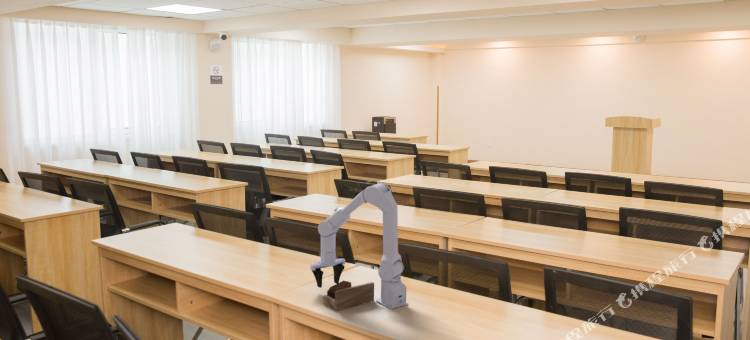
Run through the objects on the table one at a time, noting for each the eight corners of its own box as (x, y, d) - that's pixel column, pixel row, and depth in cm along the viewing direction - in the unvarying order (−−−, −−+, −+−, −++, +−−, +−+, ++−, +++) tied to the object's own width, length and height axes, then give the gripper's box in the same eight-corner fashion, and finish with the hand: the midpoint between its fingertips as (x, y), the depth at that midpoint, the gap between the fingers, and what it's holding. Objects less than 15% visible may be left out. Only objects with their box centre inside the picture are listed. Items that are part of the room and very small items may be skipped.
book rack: (373, 301, 217) (374, 283, 216) (336, 310, 207) (336, 291, 206) (360, 294, 224) (360, 276, 223) (323, 303, 214) (323, 284, 213)
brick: (343, 291, 227) (343, 280, 226) (351, 293, 225) (351, 281, 224) (326, 300, 218) (326, 287, 217) (335, 302, 216) (335, 290, 215)
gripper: (338, 245, 232) (338, 278, 234) (306, 251, 224) (306, 285, 226) (348, 249, 227) (348, 283, 229) (315, 255, 218) (315, 290, 220)
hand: (328, 285), depth 227 cm, fingers open, 7 cm apart
